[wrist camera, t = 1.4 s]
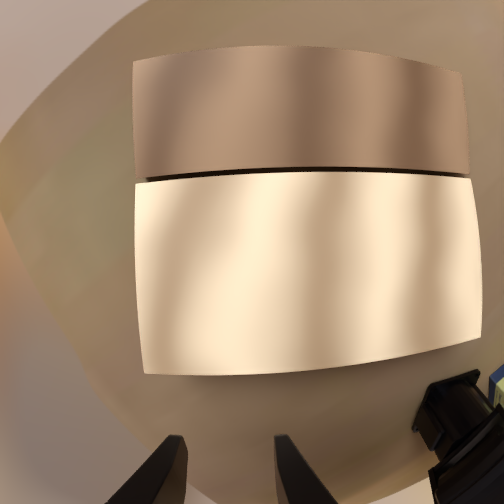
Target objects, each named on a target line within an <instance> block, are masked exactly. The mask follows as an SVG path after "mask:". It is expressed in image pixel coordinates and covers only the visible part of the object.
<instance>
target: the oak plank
mask: <svg viewBox="0 0 504 504" xmlns="http://www.w3.org/2000/svg"><path fill="white" fill-rule="evenodd" d="M135 270H136V292H137V307H138V320H139V331H140V341H141V351H142V359H143V367H144V373H148V374H169V375H245V374H266V373H281V372H294V371H305V370H315V369H324V368H333V367H341V366H348V365H355V364H362V363H368V362H374V361H380V360H386V359H391V358H397V357H402V356H407V355H412V354H416V353H421V352H425V351H430V350H434V349H438V348H442V347H446V346H450V345H454V344H458V343H462V342H465V341H469V340H472V339H476V338H479V337H481V322H482V270H481V253H480V241H479V231H478V222H477V215H476V208H475V201H474V195H473V189H472V184H471V179H468V178H458V177H446V176H433V175H418V174H400V173H373V172H289V173H261V174H241V175H225V176H211V177H199V178H187V179H177V180H167V181H158V182H149V183H140V184H136V191H135Z"/></svg>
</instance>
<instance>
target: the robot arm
mask: <svg viewBox="0 0 504 504" xmlns="http://www.w3.org/2000/svg"><path fill="white" fill-rule="evenodd" d="M479 376H480V371H479V370H478V369H476V370H473V371H470V372H467V373H464V374H461V375H458V376H455V377H452V378H449V379H446V380H442V381H439V382H435V383H433V384H431V385H430V386H429V387H428V389H427V392H426V394H425V397H424V400H423V402H422V405H421V407H420V410H419V412H418V415H417V417H416V420H415V422H414V424H413V427H412V430H413V432H418V431H419V432H420V434H421V436H422V438H423V439H424V441H425V443H426V445H427V447H428V449H429V450H430V451H434V452H435V453H436V455H437V457H438V459H439V461H440V462H439V463H438V464H437V465H436V466H435V467H432V468H431V469H430V470H428V474H429V479H430V484H431V489H432V494H433V499H434V504H504V404H502V403H500V402H499V403H498V404H497V405H496V406H495V407H494V406H493V405H492V404H491V402H490V401H489V400H488V399H487V398H486V396H485V395H484V394H483V393H482V392H481V390H480V389H479V388H478V387H477V386H476V383H477V380H478V378H479ZM274 461H275V476H276V490H277V497H278V502H279V504H338V503H337V502H336V500H335V499H334V498H333V496H332V495H331V494H330V493H329V491H328V490H327V489H326V487H325V486H324V485H323V483H322V482H321V481H320V479H319V478H318V477H317V475H316V474H315V472H314V471H313V470H312V468H311V467H310V466H309V464H308V463H307V461H306V460H305V459H304V457H303V456H302V454H301V453H300V452H299V450H298V449H297V447H296V446H295V445H294V443H293V442H292V440H291V439H290V437H289V436H288V435H287V434H280V435H275V436H274ZM187 462H188V450H187V447H186V444H185V441H184V438H183V437H182V436H181V435H169V436H168V437H167V438H166V439H165V440H164V441H163V442H162V443H161V445H160V446H159V447H158V448H157V449H156V450H155V451H154V452H153V453H152V455H151V456H150V457H149V458H148V459H147V460H146V461H145V462H144V463H143V464H142V465H141V467H140V468H139V469H138V470H137V471H136V472H135V473H134V474H133V475H132V476H131V477H130V478H129V479H128V480H127V481H126V482H125V483H124V484H123V485H122V487H121V488H120V489H119V490H118V491H117V492H116V493H115V494H114V495H113V496H112V497H111V498H110V499H109V500H108V503H107V502H106V503H105V504H184V499H185V493H186V479H187Z"/></svg>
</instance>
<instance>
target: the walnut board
mask: <svg viewBox="0 0 504 504" xmlns="http://www.w3.org/2000/svg"><path fill="white" fill-rule="evenodd" d="M133 137H134V157H135V172H136V179H137V178H145V177H154V176H162V175H172V174H181V173H192V172H204V171H216V170H231V169H248V168H270V167H312V166H339V167H380V168H401V169H418V170H431V171H443V172H454V173H463V174H469V138H468V123H467V113H466V104H465V96H464V88H463V82H462V76H461V74H460V73H457V72H454V71H451V70H447V69H444V68H440V67H437V66H433V65H429V64H425V63H421V62H417V61H413V60H408V59H403V58H398V57H393V56H388V55H382V54H376V53H370V52H363V51H355V50H346V49H337V48H325V47H309V46H244V47H228V48H216V49H206V50H198V51H190V52H183V53H176V54H170V55H164V56H159V57H153V58H148V59H144V60H139V61H134V62H133Z"/></svg>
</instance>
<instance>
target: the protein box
mask: <svg viewBox="0 0 504 504" xmlns="http://www.w3.org/2000/svg"><path fill="white" fill-rule="evenodd" d="M489 401H490V402H491V404H492V405H493V406H494V407H495V406H496V405H497V404H498V403H499V402H500V403H502V404H504V364H503V365H502V366H501V367H500V368H499V369H498V370H496V371H495V372H494V373H493V374H492V375H491V376H490V385H489Z"/></svg>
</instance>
